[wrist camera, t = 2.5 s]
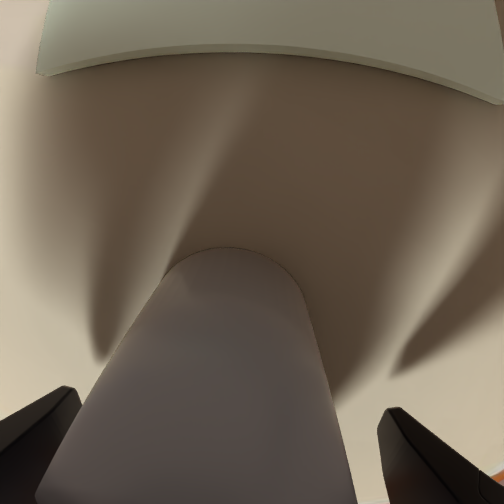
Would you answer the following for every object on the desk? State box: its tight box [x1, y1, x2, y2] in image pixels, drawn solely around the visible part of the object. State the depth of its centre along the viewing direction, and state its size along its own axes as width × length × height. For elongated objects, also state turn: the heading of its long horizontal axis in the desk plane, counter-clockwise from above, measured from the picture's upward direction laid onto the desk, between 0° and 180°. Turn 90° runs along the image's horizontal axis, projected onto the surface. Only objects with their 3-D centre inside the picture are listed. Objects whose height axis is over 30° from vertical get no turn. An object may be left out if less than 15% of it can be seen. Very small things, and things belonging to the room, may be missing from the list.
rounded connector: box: [35, 248, 358, 504], centre depth 6 cm, size 4×11×6 cm, turn 178°
